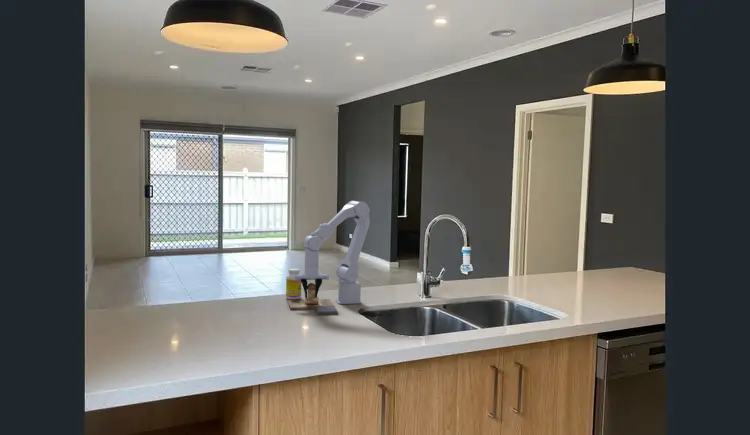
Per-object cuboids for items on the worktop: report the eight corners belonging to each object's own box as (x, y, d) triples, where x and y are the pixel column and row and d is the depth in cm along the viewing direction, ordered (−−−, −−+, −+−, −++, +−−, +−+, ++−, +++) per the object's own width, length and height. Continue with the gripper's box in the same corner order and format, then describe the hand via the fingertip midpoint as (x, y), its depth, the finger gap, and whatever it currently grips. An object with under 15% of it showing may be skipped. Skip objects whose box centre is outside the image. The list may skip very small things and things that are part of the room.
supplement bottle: (299, 300, 233) (300, 270, 232) (284, 299, 233) (285, 270, 232) (302, 296, 240) (302, 268, 239) (287, 296, 240) (287, 267, 239)
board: (329, 301, 232) (329, 298, 232) (334, 308, 220) (334, 306, 220) (287, 302, 228) (288, 299, 228) (290, 310, 216) (290, 307, 216)
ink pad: (334, 309, 219) (334, 306, 219) (338, 314, 211) (338, 311, 211) (315, 310, 217) (315, 307, 217) (317, 315, 209) (317, 312, 209)
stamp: (316, 302, 226) (316, 282, 226) (318, 303, 221) (318, 283, 221) (304, 302, 224) (304, 282, 225) (306, 304, 220) (306, 283, 220)
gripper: (294, 266, 217) (294, 299, 218) (330, 266, 220) (329, 298, 221) (293, 263, 224) (292, 295, 225) (327, 263, 227) (327, 294, 228)
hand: (310, 296), depth 224 cm, fingers closed on stamp, 3 cm apart
